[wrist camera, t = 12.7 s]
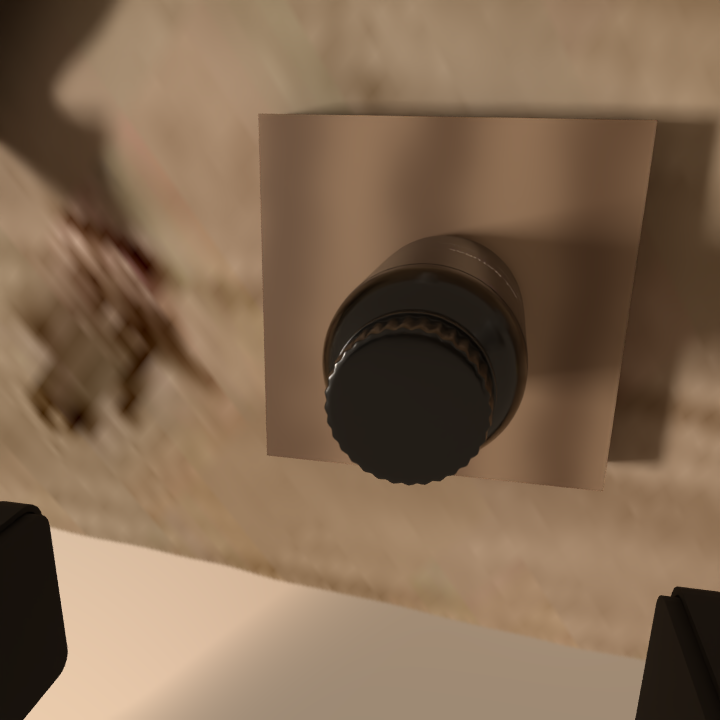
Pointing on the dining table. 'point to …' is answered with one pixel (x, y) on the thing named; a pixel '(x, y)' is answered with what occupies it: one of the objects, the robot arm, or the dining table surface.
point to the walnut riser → (468, 220)
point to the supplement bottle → (426, 360)
